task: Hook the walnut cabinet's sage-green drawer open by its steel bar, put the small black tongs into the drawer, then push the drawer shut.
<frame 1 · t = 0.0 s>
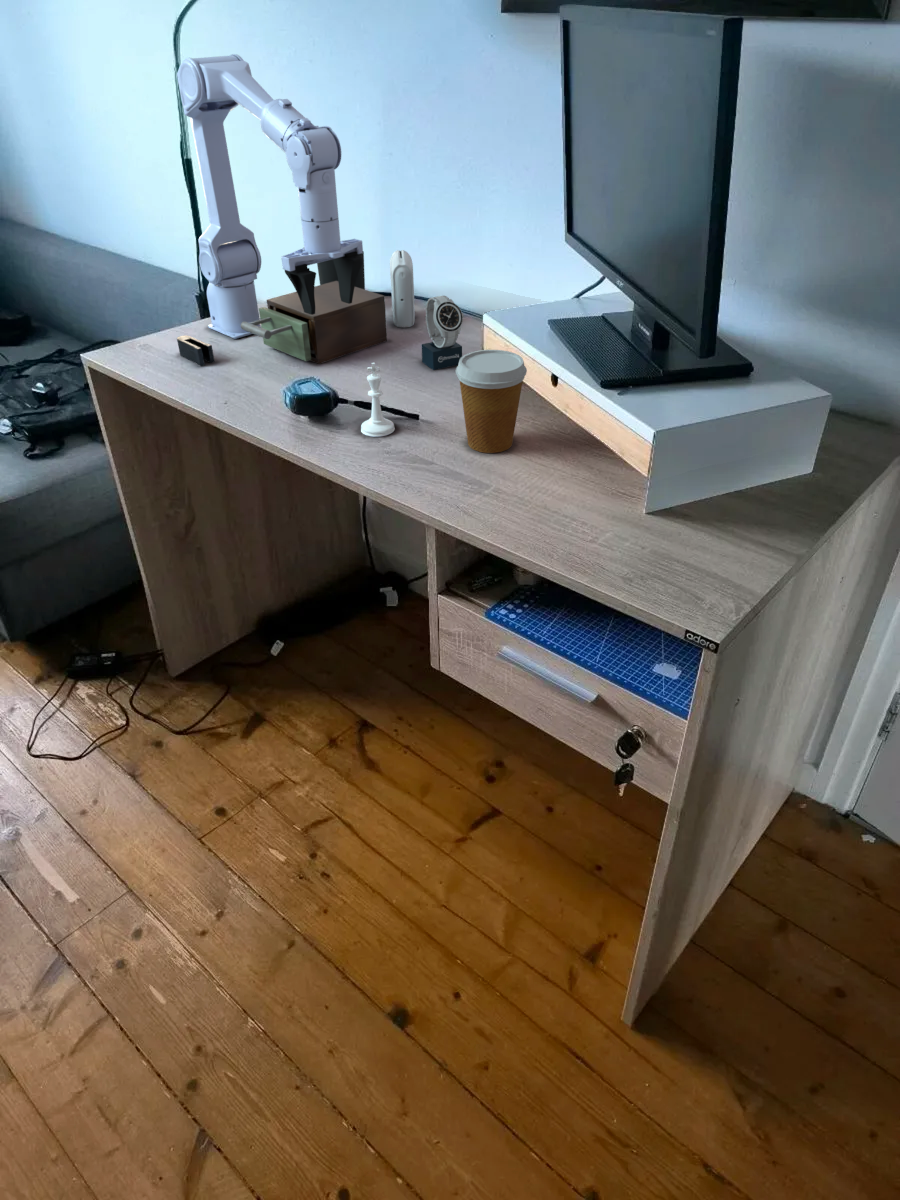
hand: (328, 307, 139), 10 cm above the table, tool pointing down, fingers open, 7 cm apart
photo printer: (403, 320, 165), on the table
cabinet: (330, 343, 155), on the table
pen holder: (344, 302, 174), on the table
disposable coffee cup: (490, 444, 121), on the table
chess piece: (377, 430, 125), on the table
drawer: (302, 328, 149), point 4 cm above the table, slide at 1.0 cm
watch: (442, 364, 146), on the table
tongs: (196, 358, 149), on the table
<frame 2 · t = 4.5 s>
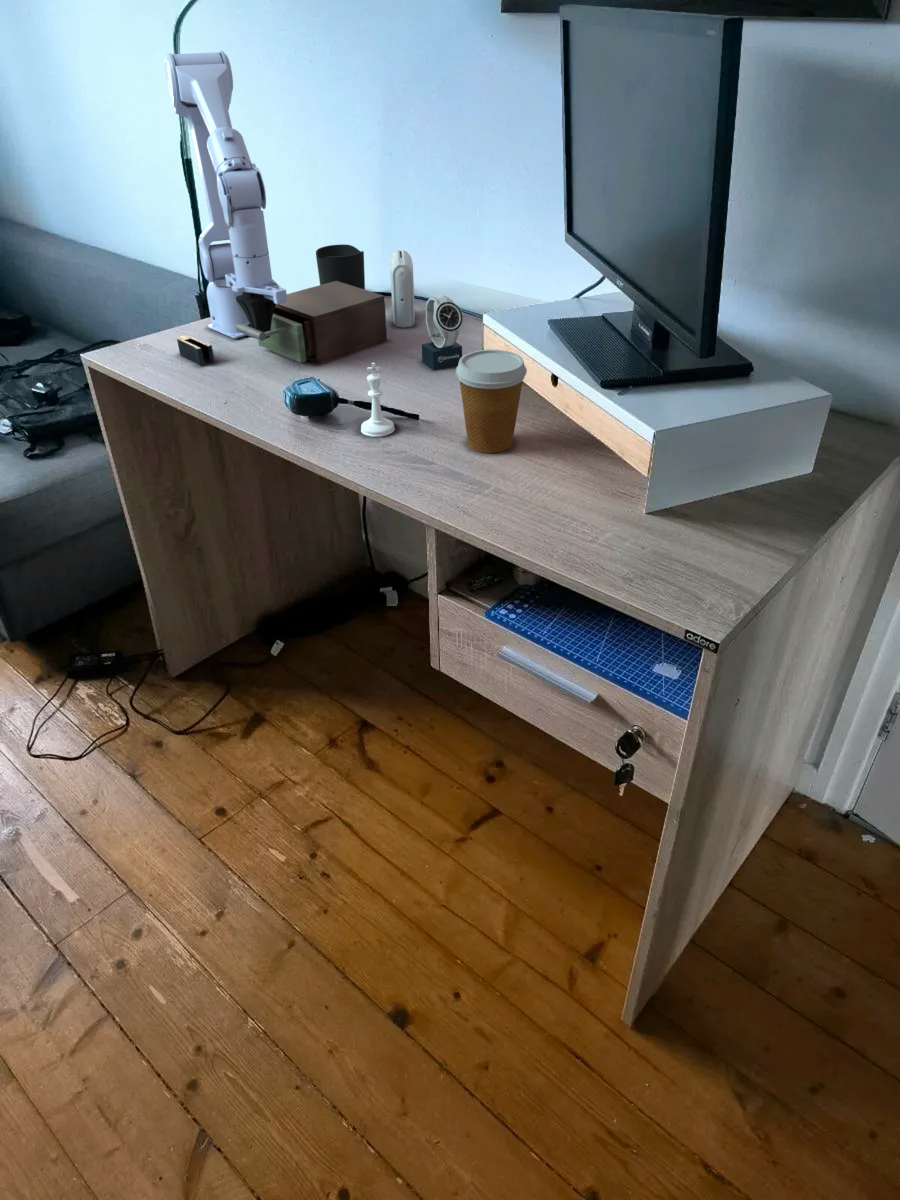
hand: (262, 337, 144), 4 cm above the table, tool pointing down, fingers closed, pressing on drawer
drawer: (297, 329, 148), point 4 cm above the table, slide at 2.1 cm, touching gripper
everything else where it was.
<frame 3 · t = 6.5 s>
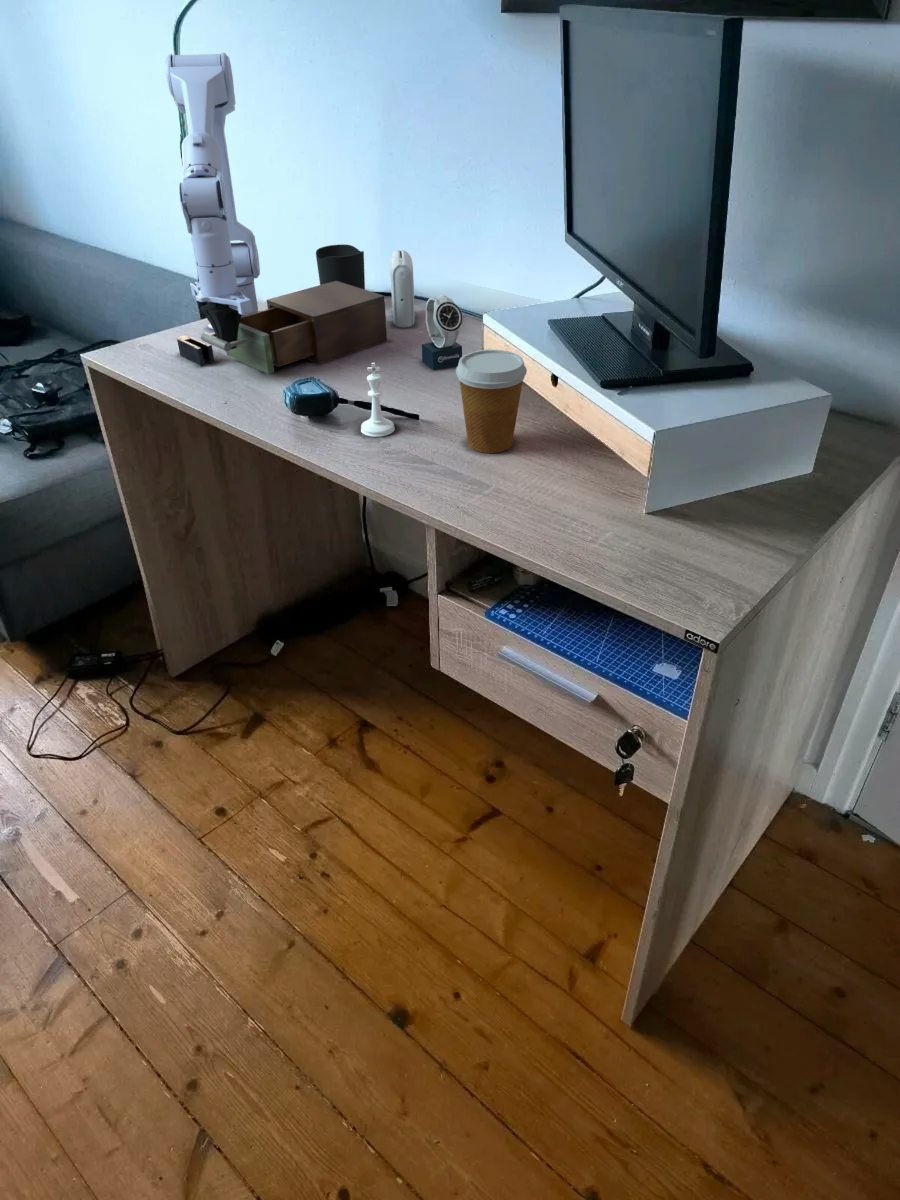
hand: (229, 348, 140), 4 cm above the table, tool pointing down, fingers closed, pressing on drawer
drawer: (266, 339, 145), point 4 cm above the table, slide at 8.7 cm, touching gripper
everything else where it was.
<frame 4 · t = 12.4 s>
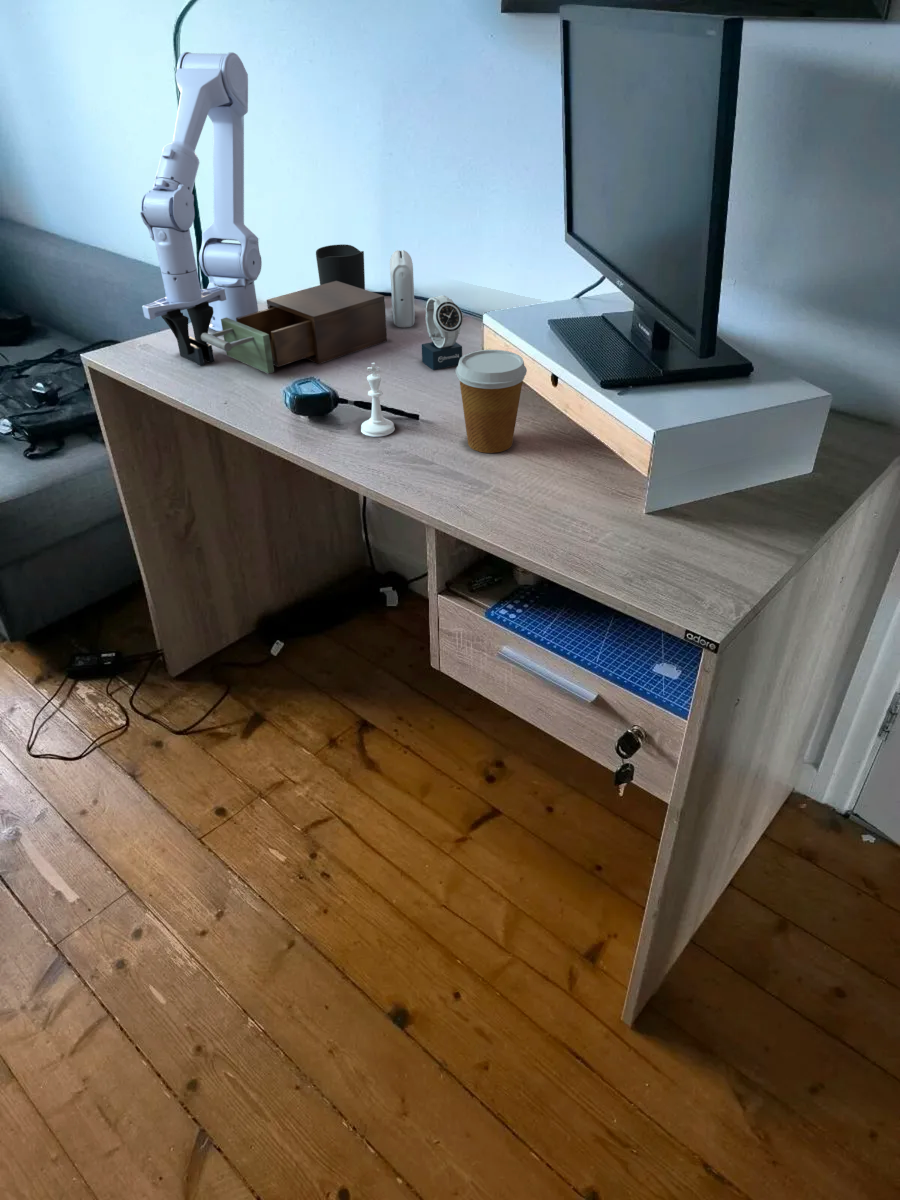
hand: (194, 350, 148), 1 cm above the table, tool pointing down, fingers closed on tongs, 2 cm apart
drawer: (266, 339, 145), point 4 cm above the table, slide at 8.7 cm
tongs: (196, 358, 149), on the table, touching gripper
everything else where it was.
when the fingers open (5 cm above the table, at t = 17.0 s): tongs drops 1 cm, resting on drawer.
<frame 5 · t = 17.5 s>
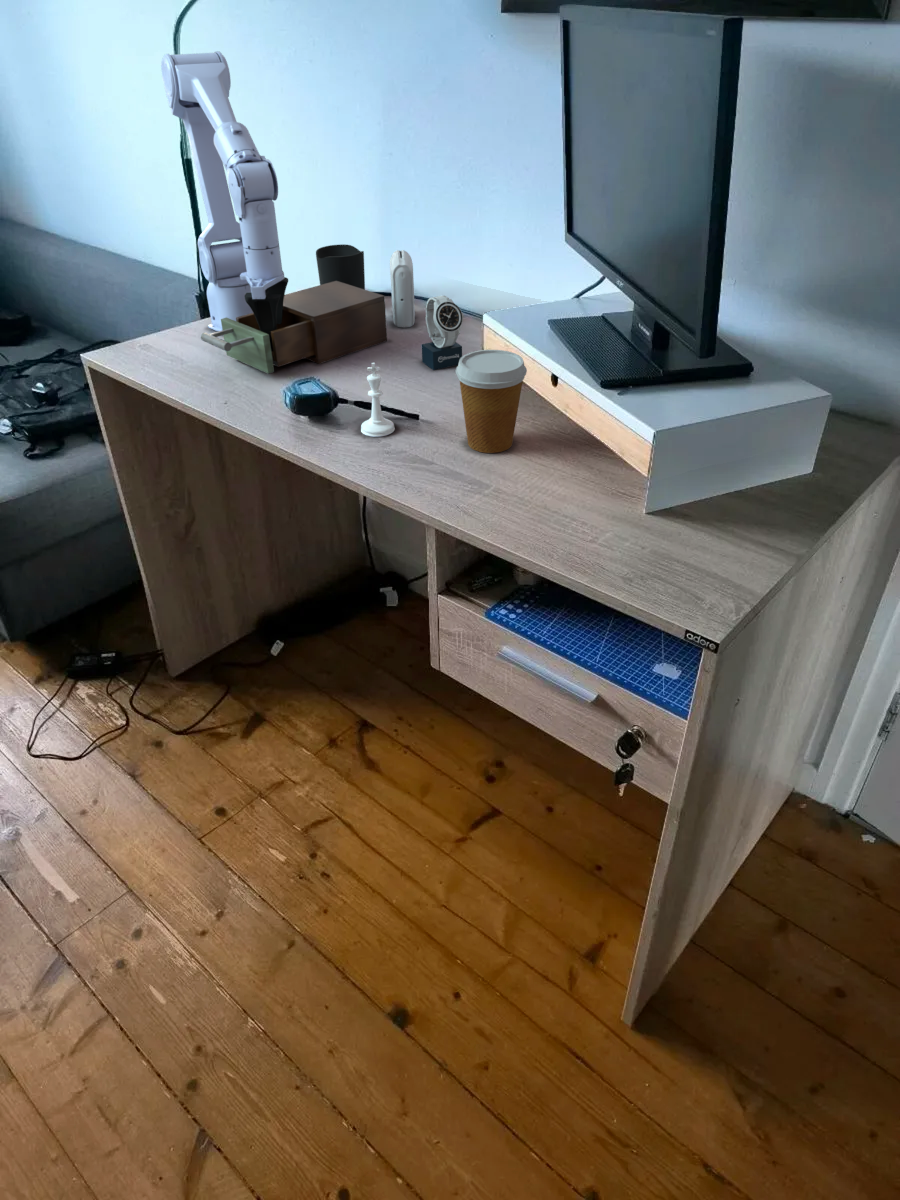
hand: (272, 329, 145), 5 cm above the table, tool pointing down, fingers open, 6 cm apart
drawer: (266, 339, 145), point 4 cm above the table, slide at 8.7 cm, touching tongs
tongs: (275, 349, 147), point 2 cm above the table, touching drawer
everything else where it was.
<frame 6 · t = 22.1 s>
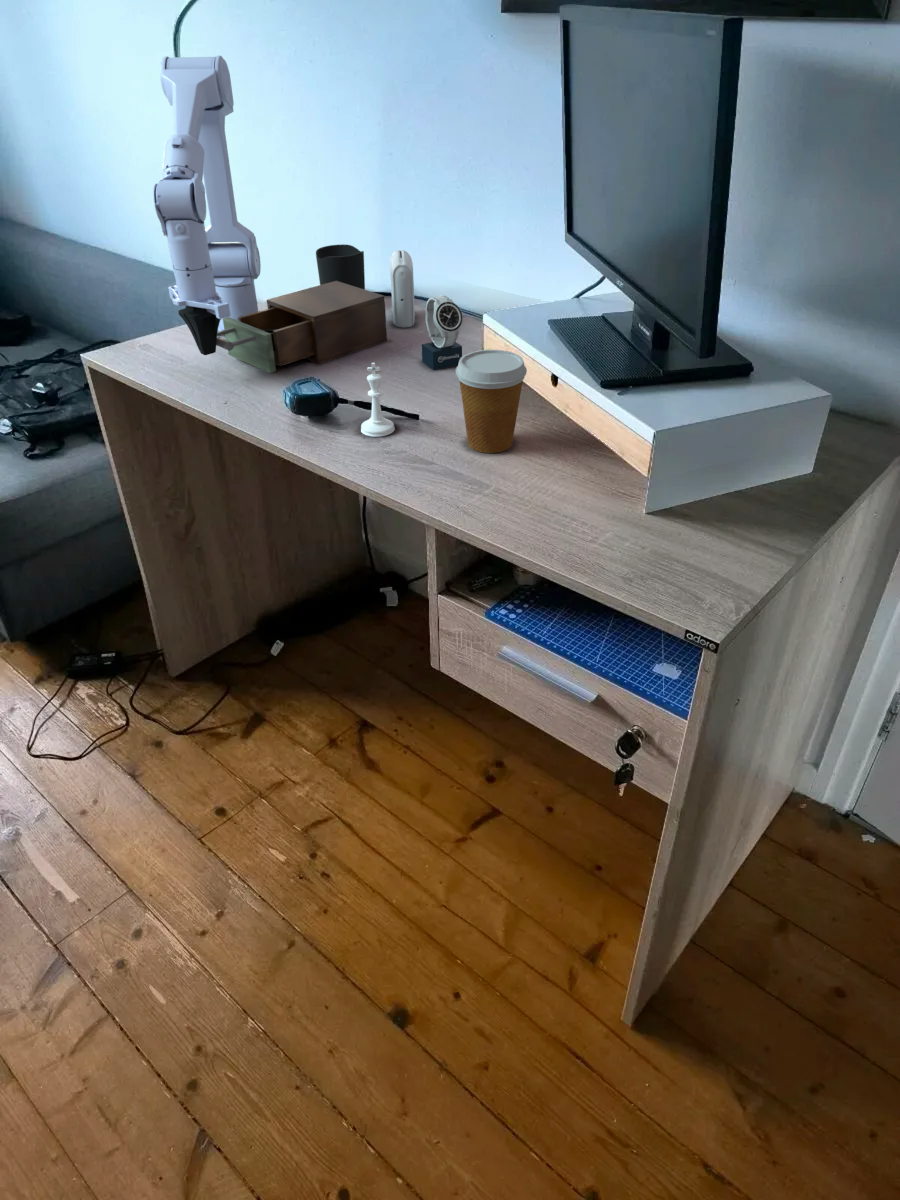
hand: (208, 352, 138), 5 cm above the table, tool pointing down, fingers closed, pressing on drawer
drawer: (267, 338, 145), point 4 cm above the table, slide at 8.3 cm, touching gripper, tongs
everything else where it was.
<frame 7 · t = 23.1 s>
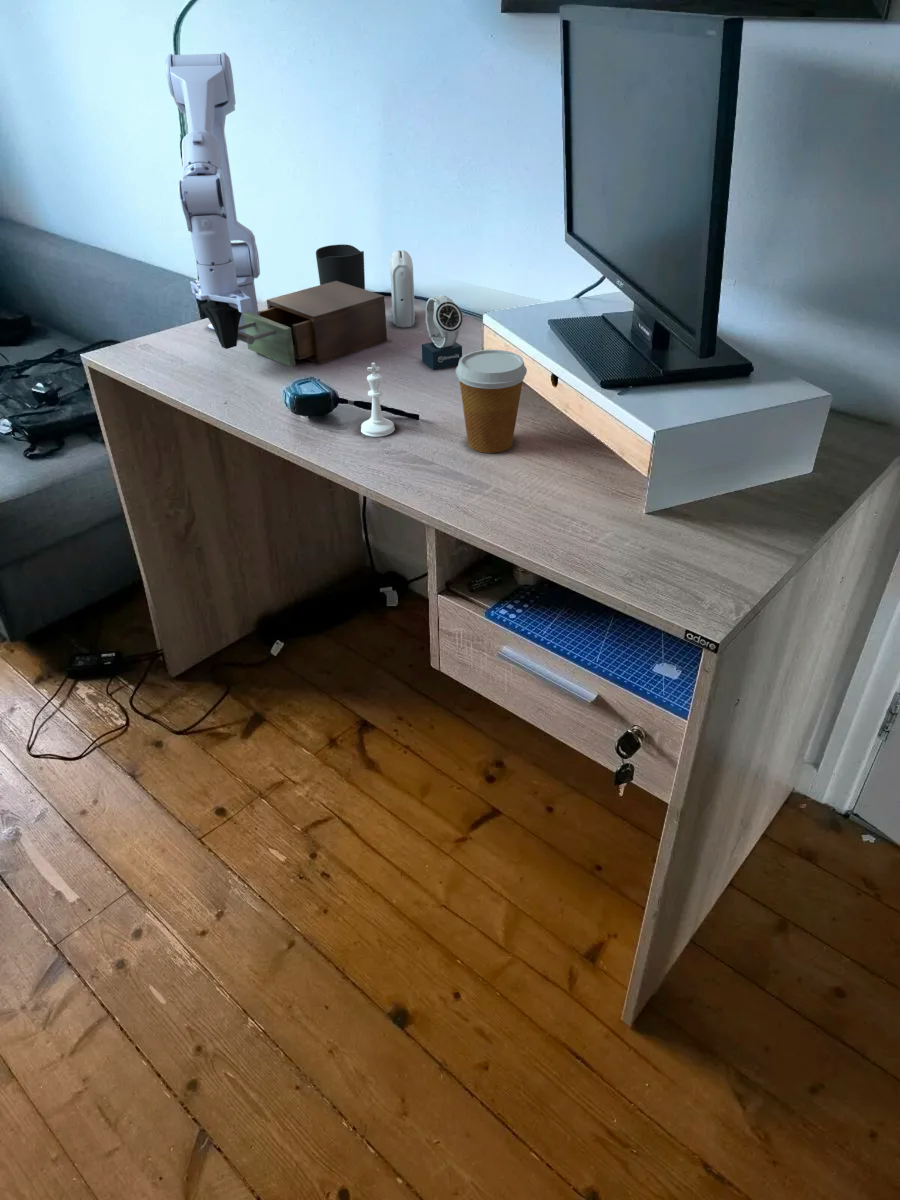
hand: (229, 346, 140), 5 cm above the table, tool pointing down, fingers closed, pressing on drawer
drawer: (287, 333, 147), point 4 cm above the table, slide at 4.3 cm, touching gripper, tongs
tongs: (296, 342, 149), point 2 cm above the table, touching drawer
everything else where it was.
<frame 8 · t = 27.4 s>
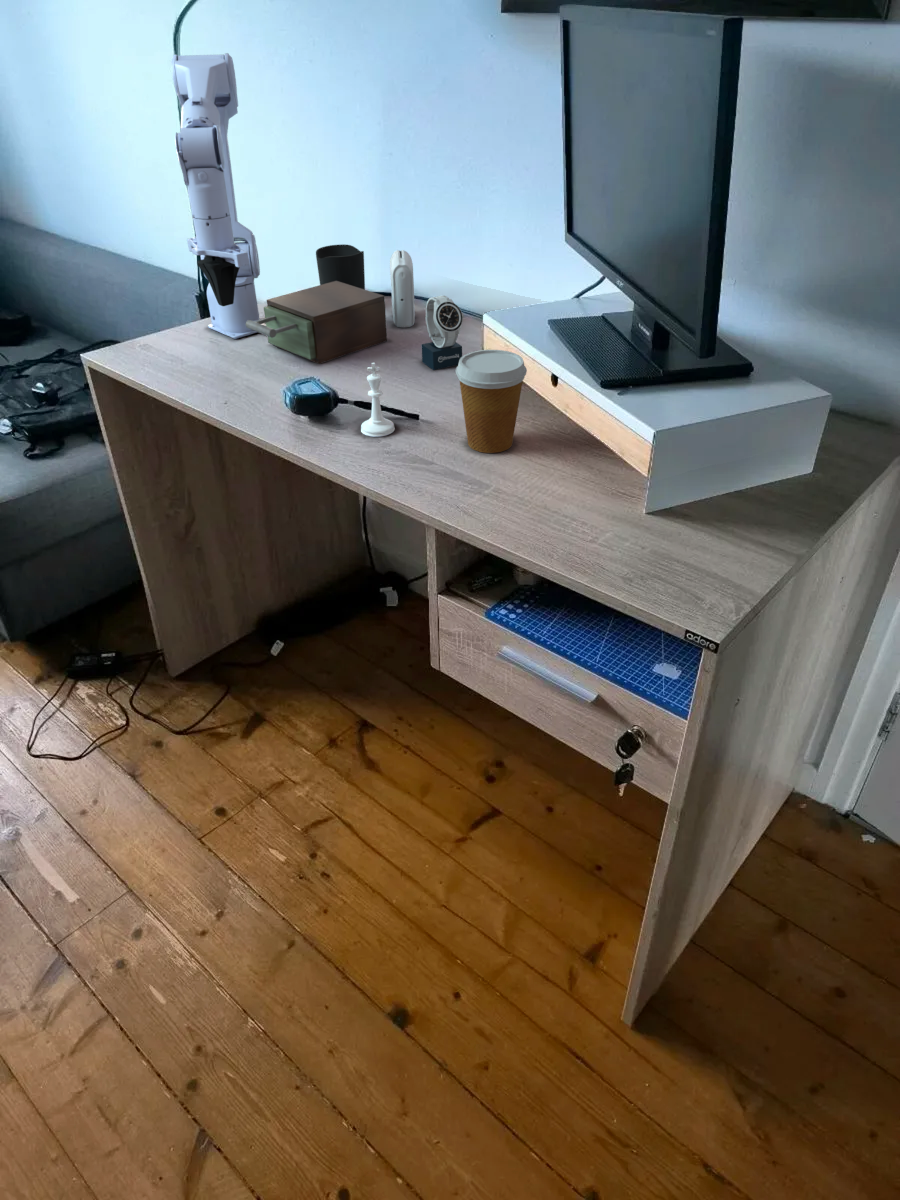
hand: (226, 304, 140), 10 cm above the table, tool pointing down, fingers closed
drawer: (307, 327, 150), point 4 cm above the table, slide at 0.0 cm, touching tongs
tongs: (316, 336, 152), point 2 cm above the table, touching drawer
everything else where it was.
at the end: drawer pulled out 8.7 cm at the most during the clip, back to where it started at the end; tongs inside the target area in the cabinet (3.1 cm from its centre), point 2.0 cm above the cabinet's base; drawer slide at 0.0 cm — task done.
